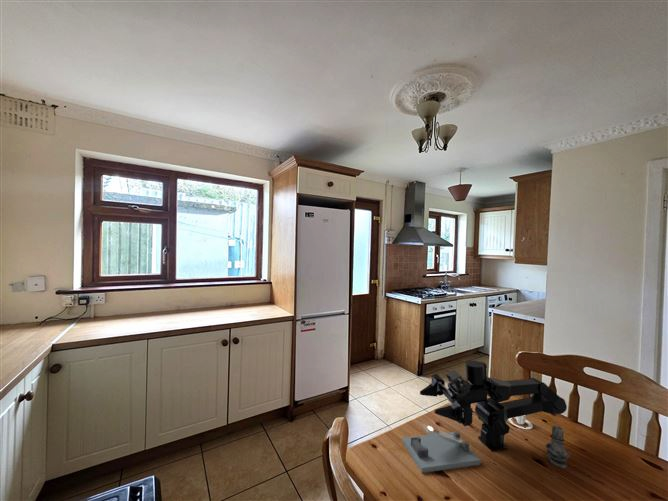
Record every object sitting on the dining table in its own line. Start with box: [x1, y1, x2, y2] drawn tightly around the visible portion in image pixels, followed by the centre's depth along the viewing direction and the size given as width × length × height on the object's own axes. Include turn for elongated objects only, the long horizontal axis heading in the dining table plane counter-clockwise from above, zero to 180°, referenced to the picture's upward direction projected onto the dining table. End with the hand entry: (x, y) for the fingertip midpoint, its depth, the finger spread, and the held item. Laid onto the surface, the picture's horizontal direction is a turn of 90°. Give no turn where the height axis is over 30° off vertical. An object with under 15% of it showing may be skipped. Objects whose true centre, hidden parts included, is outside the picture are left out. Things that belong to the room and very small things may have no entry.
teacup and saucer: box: [507, 415, 534, 430], centre depth 105 cm, size 9×8×4 cm
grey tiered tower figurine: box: [545, 423, 570, 469], centre depth 85 cm, size 6×6×12 cm
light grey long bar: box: [422, 423, 465, 448], centre depth 88 cm, size 15×3×2 cm, turn 100°
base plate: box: [402, 431, 481, 474], centre depth 88 cm, size 20×13×4 cm, turn 100°
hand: (427, 401), depth 88 cm, fingers open, 9 cm apart
